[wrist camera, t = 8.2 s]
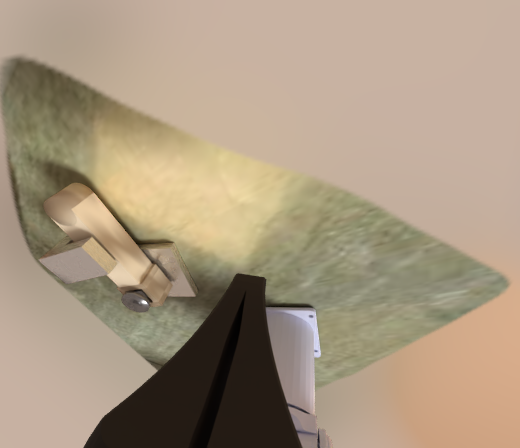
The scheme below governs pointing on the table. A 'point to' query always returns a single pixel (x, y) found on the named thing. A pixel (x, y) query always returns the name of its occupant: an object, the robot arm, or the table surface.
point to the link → (107, 240)
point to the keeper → (78, 260)
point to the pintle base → (172, 269)
